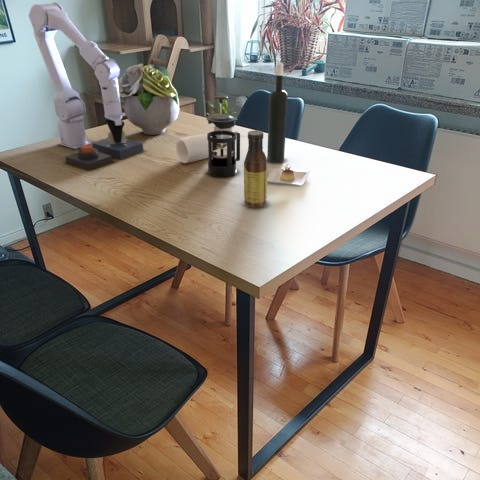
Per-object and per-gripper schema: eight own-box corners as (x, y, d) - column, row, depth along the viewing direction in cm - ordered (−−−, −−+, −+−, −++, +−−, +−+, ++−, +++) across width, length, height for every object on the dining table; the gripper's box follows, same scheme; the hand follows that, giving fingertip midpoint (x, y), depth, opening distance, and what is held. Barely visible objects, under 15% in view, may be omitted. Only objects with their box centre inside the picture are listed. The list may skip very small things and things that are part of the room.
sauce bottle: (253, 198, 142) (254, 126, 130) (270, 203, 139) (273, 131, 127) (239, 205, 138) (239, 132, 126) (256, 211, 135) (258, 136, 123)
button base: (66, 162, 166) (63, 151, 163) (89, 155, 172) (87, 143, 170) (89, 170, 160) (87, 158, 158) (112, 162, 166) (111, 150, 164)
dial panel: (93, 151, 175) (92, 142, 174) (117, 144, 183) (115, 135, 181) (120, 159, 169) (119, 150, 167) (143, 151, 176) (142, 142, 174)
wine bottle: (265, 162, 167) (268, 63, 149) (269, 156, 171) (273, 60, 154) (281, 163, 166) (287, 64, 148) (285, 158, 170) (291, 61, 152)
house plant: (196, 139, 188) (194, 93, 178) (229, 134, 193) (229, 89, 183) (210, 149, 178) (209, 101, 168) (245, 144, 182) (245, 97, 173)
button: (79, 152, 164) (78, 146, 163) (88, 149, 166) (87, 144, 165) (86, 154, 162) (85, 148, 161) (95, 151, 164) (94, 146, 163)
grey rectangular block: (110, 144, 172) (108, 133, 170) (109, 143, 174) (107, 131, 171) (125, 142, 174) (124, 131, 172) (124, 141, 175) (123, 130, 173)
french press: (215, 180, 153) (213, 101, 140) (200, 171, 159) (197, 95, 146) (246, 172, 158) (247, 96, 145) (230, 164, 165) (230, 90, 151)
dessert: (309, 174, 157) (310, 159, 154) (303, 188, 148) (304, 172, 145) (272, 171, 160) (273, 156, 157) (264, 184, 151) (265, 168, 148)
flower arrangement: (109, 133, 194) (98, 64, 179) (156, 120, 209) (150, 56, 195) (151, 145, 181) (143, 72, 166) (198, 131, 196) (195, 63, 182)
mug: (213, 160, 168) (213, 136, 164) (189, 166, 163) (188, 141, 159) (194, 151, 176) (193, 128, 171) (170, 157, 171) (168, 133, 166)
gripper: (128, 104, 161) (133, 146, 169) (118, 94, 172) (124, 134, 180) (106, 106, 159) (112, 148, 167) (98, 96, 170) (104, 136, 178)
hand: (117, 141), depth 174 cm, fingers closed on grey rectangular block, 2 cm apart
